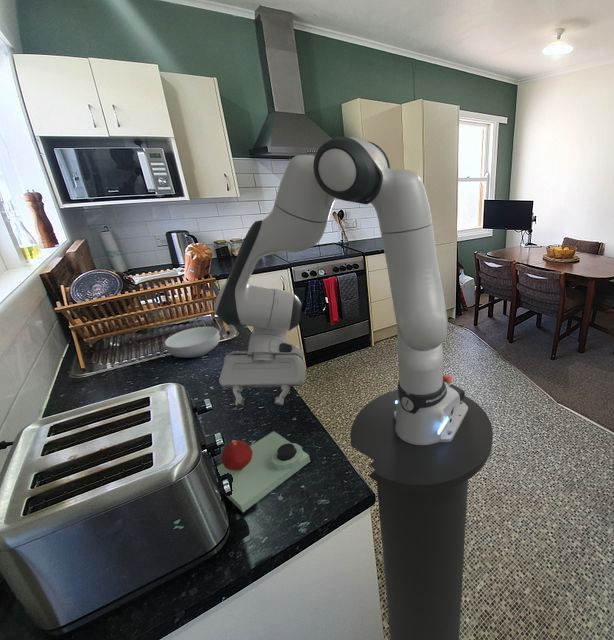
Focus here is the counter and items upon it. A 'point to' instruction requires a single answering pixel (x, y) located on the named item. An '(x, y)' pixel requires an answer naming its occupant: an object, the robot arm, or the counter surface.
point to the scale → (263, 471)
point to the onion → (236, 455)
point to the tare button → (286, 452)
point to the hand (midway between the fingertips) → (259, 405)
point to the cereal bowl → (193, 342)
